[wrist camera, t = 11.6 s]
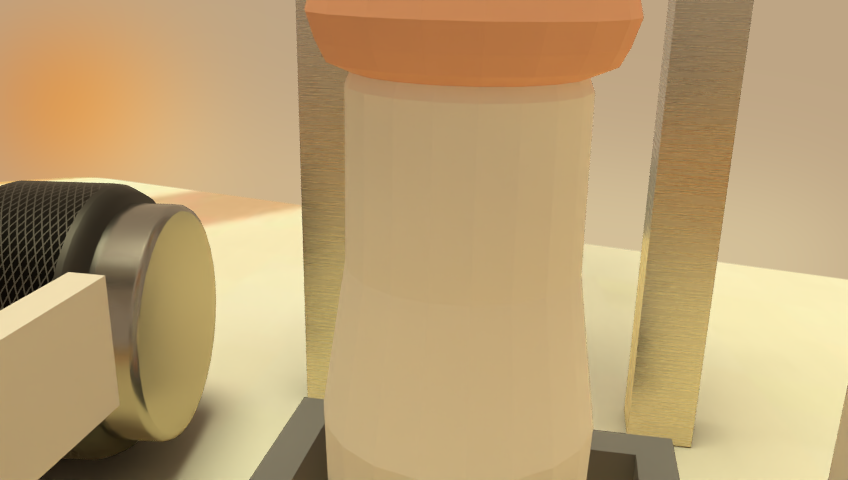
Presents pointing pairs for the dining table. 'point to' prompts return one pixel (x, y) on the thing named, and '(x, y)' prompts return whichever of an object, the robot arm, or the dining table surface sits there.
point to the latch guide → (664, 219)
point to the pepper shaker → (465, 234)
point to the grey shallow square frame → (607, 471)
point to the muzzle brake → (122, 294)
